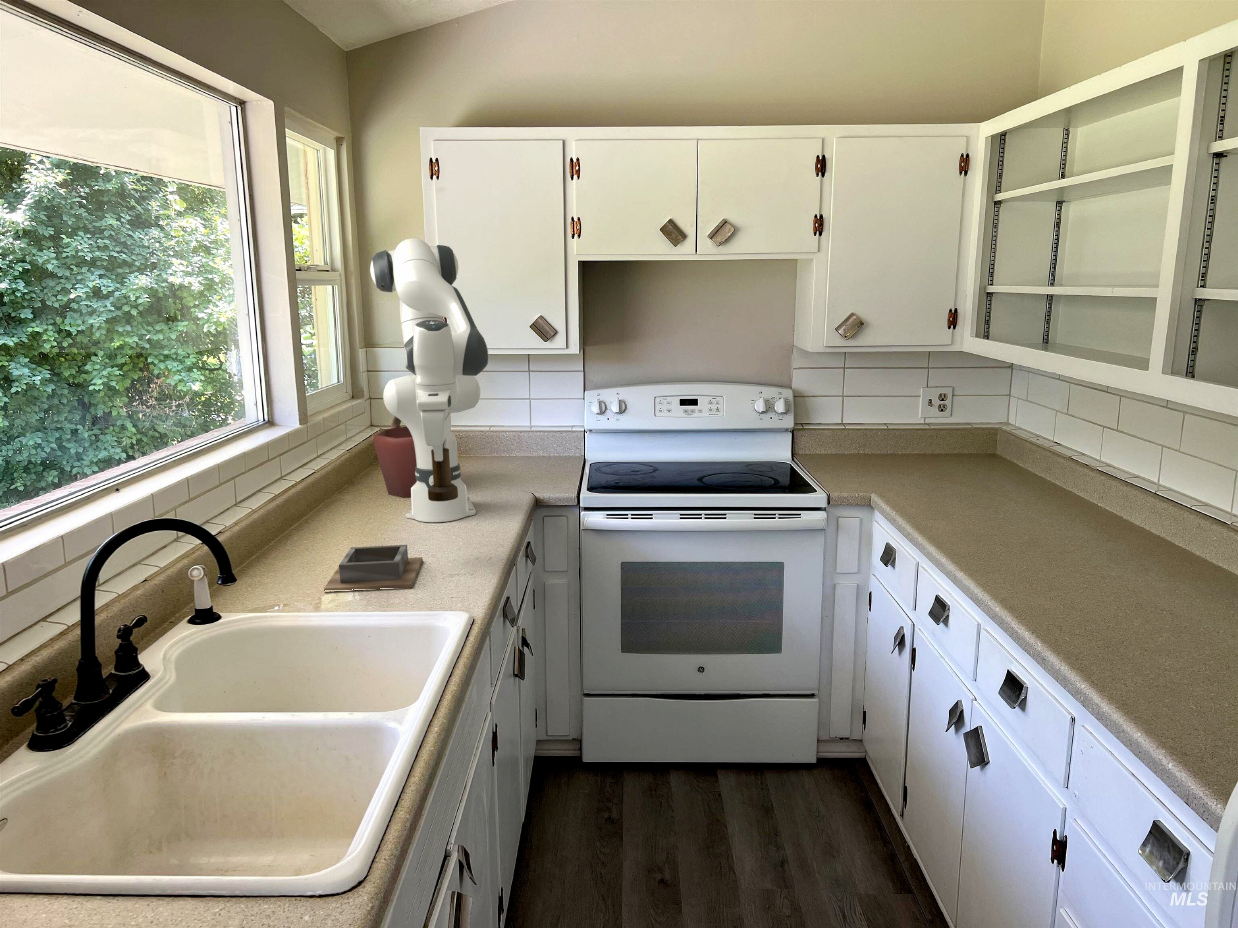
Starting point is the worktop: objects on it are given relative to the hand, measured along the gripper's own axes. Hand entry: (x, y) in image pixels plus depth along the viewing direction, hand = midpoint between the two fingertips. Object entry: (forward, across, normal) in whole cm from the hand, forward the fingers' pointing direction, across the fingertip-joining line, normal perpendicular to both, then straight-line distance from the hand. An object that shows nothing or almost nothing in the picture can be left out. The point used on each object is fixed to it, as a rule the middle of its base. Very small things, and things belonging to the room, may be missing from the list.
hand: (440, 457), depth 195 cm
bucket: (+26, -71, -17) cm, 78 cm away
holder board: (+25, +7, -15) cm, 30 cm away
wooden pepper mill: (+10, 0, 0) cm, 10 cm away
